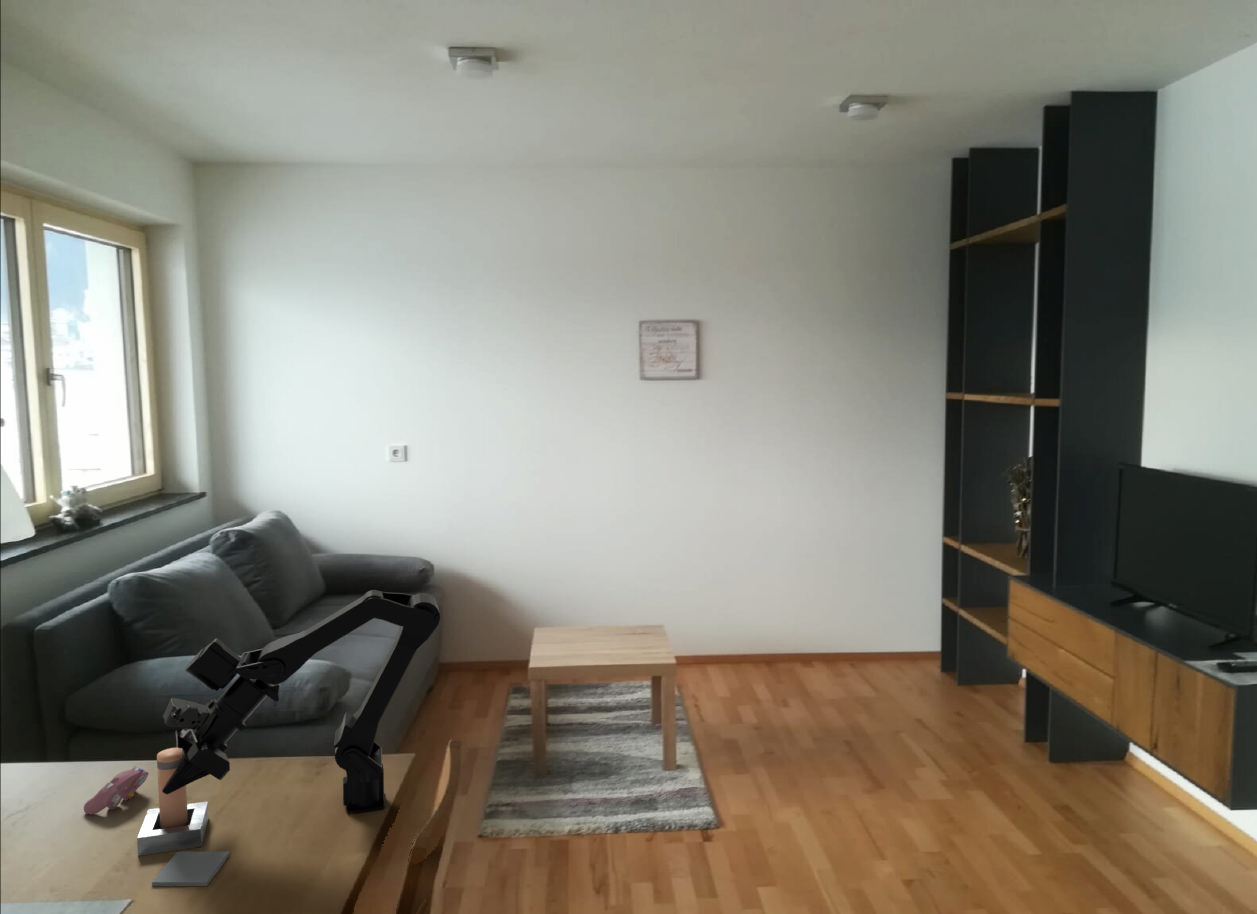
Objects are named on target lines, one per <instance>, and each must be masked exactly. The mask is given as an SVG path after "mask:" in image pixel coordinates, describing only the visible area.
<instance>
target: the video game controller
mask: <svg viewBox="0 0 1257 914" xmlns="http://www.w3.org/2000/svg"><path fill="white" fill-rule="evenodd" d="M148 776H149V772H148V771H147V770H145V769H143V768H141V767H137V766H133V767H132V769H128V770H123V771H120V772H118V773H117V774H116V775H115V776H114V777H113V778H112V779H111V780H110V781H109V782H107V783H106V784H105V785H104V786H102V787H101V788H100V790H98V792H97V793H96V794H95V795H94V796H93V797H91V798H90V799H89V800H87V801H86V802H85V803H84V805H83V811H84V814H86V815H88V814H89V816H91V815H96V814H98V813H100V812H102V811H103V810H104V809H106V808H108V809H110V810H112V811H113V810H114V809H115V808H117V807H118V805H120V803H121V802H122V799H123V800H124V801H128V800H130V799H131V798H132V797H133V796H134V794H135V793H136V792H137V790H138V789H139V788H140V787H141V786H142V785H144V783H145V781H146V780H147V779H148Z"/></svg>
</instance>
